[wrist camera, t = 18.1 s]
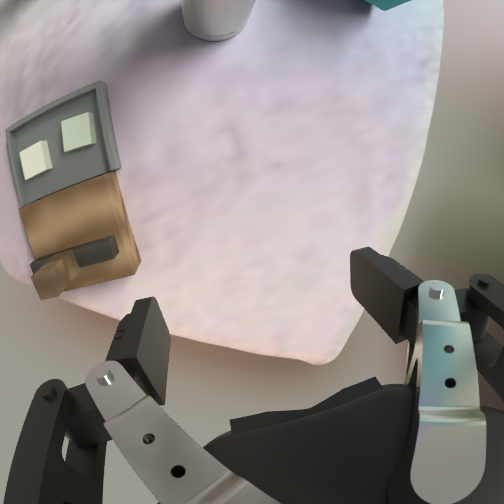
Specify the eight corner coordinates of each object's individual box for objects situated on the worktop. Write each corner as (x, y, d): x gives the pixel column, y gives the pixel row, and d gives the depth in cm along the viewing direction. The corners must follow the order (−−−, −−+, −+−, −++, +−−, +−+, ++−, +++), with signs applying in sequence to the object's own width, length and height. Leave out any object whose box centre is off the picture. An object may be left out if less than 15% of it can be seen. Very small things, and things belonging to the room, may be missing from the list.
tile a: (25, 180, 30) (31, 178, 32) (46, 169, 30) (52, 168, 32) (19, 152, 28) (26, 151, 30) (40, 140, 29) (46, 140, 30)
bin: (13, 129, 29) (5, 129, 26) (106, 84, 30) (100, 80, 28) (28, 203, 34) (20, 206, 31) (121, 167, 35) (116, 168, 33)
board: (35, 201, 34) (18, 209, 29) (115, 170, 35) (103, 174, 30) (62, 280, 39) (50, 294, 35) (141, 260, 40) (134, 274, 36)
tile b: (64, 151, 30) (70, 151, 32) (91, 143, 31) (96, 143, 32) (61, 121, 28) (67, 122, 30) (88, 112, 29) (93, 113, 31)
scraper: (36, 256, 32) (3, 285, 23) (113, 232, 33) (87, 261, 25) (44, 274, 33) (13, 306, 25) (120, 253, 34) (97, 287, 26)
